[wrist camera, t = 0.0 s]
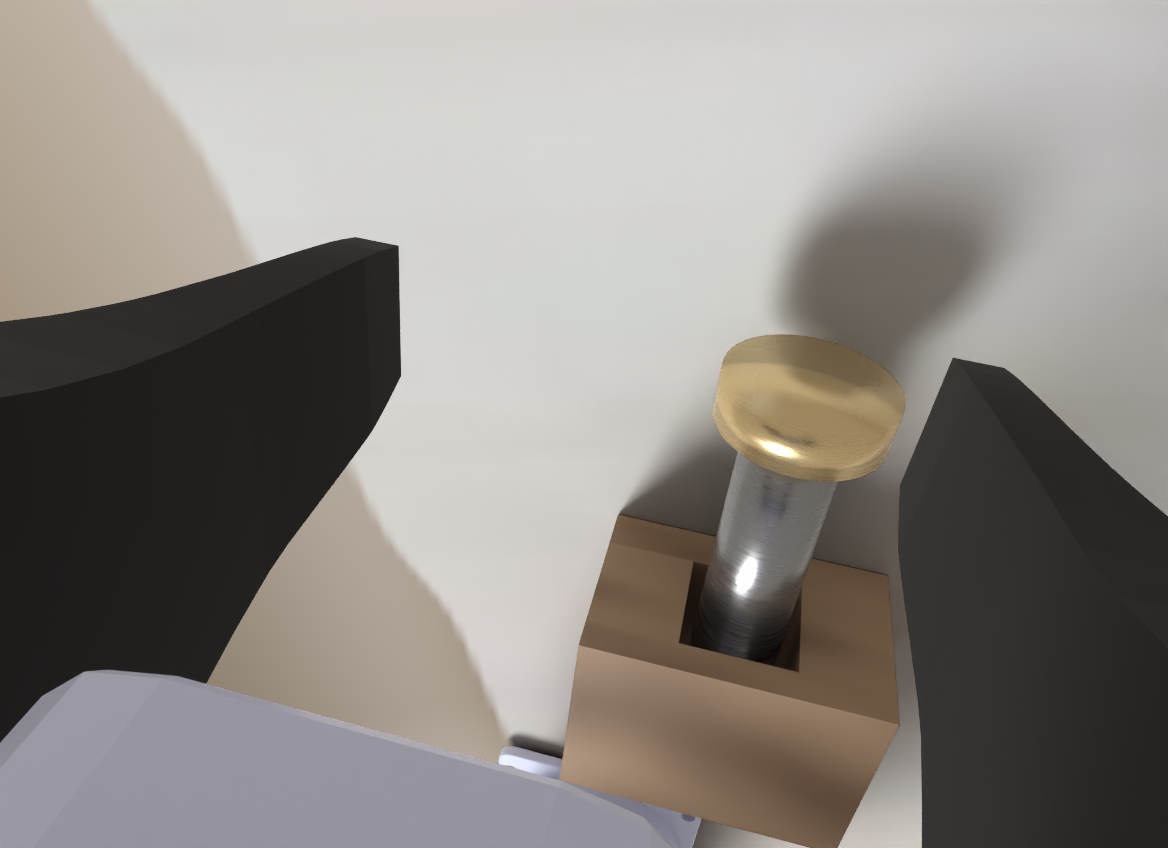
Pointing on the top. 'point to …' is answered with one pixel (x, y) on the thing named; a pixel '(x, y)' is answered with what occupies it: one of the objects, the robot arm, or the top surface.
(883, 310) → the top surface
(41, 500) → the robot arm
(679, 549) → the block
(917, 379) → the top surface
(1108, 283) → the top surface
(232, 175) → the top surface
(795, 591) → the brass door knob
